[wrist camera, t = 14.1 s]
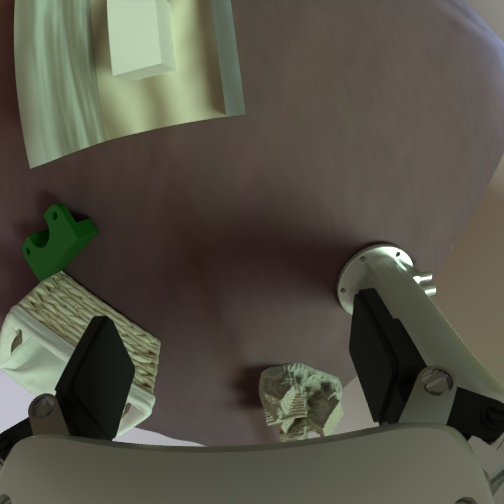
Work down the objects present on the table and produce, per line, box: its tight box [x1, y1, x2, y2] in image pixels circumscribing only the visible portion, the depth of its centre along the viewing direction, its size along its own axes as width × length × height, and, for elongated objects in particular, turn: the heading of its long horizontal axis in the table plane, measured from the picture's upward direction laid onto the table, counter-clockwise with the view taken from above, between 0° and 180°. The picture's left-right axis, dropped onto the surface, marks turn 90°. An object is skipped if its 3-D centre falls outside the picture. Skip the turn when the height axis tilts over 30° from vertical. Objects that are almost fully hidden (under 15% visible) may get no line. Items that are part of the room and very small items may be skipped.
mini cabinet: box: [107, 0, 177, 80], centre depth 24 cm, size 5×10×7 cm, turn 6°
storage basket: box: [0, 270, 161, 437], centre depth 41 cm, size 24×16×15 cm
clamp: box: [22, 203, 98, 282], centre depth 37 cm, size 12×6×9 cm, turn 119°
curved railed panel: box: [14, 0, 245, 169], centre depth 22 cm, size 19×22×14 cm
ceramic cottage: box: [259, 363, 344, 442], centre depth 48 cm, size 16×16×15 cm
